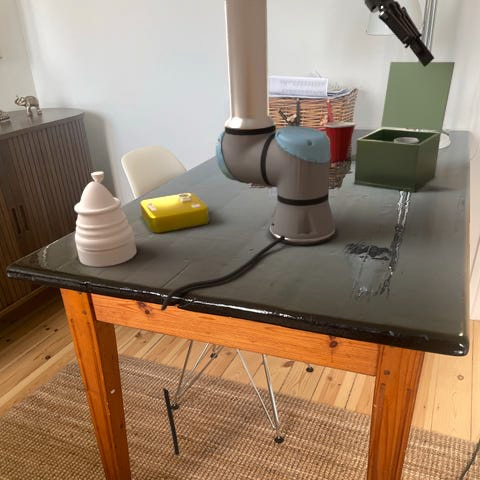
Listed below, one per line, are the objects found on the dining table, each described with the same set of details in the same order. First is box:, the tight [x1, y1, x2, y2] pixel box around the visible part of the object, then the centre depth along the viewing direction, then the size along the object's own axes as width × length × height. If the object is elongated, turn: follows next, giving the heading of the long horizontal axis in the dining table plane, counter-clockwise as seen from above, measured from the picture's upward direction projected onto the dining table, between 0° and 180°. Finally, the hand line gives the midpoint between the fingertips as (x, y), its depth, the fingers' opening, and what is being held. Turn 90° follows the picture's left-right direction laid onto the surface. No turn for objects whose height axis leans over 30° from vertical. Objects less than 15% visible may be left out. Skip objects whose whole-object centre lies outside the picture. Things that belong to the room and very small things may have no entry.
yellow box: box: [140, 192, 210, 234], centre depth 132 cm, size 15×15×5 cm
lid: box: [380, 61, 456, 132], centre depth 147 cm, size 18×18×1 cm
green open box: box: [353, 127, 442, 193], centre depth 148 cm, size 17×18×13 cm
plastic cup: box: [323, 121, 357, 162], centre depth 173 cm, size 11×11×12 cm
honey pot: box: [74, 171, 138, 268], centre depth 112 cm, size 13×13×18 cm
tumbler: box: [394, 138, 419, 144], centre depth 147 cm, size 7×7×11 cm
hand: (429, 62), depth 132 cm, fingers closed
